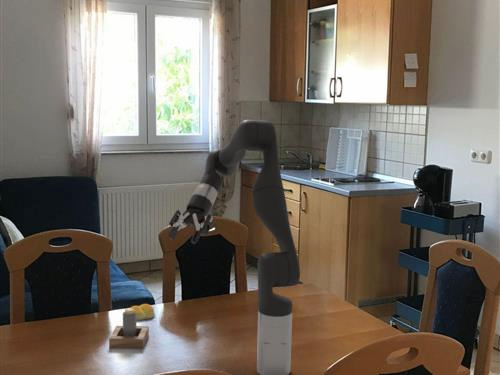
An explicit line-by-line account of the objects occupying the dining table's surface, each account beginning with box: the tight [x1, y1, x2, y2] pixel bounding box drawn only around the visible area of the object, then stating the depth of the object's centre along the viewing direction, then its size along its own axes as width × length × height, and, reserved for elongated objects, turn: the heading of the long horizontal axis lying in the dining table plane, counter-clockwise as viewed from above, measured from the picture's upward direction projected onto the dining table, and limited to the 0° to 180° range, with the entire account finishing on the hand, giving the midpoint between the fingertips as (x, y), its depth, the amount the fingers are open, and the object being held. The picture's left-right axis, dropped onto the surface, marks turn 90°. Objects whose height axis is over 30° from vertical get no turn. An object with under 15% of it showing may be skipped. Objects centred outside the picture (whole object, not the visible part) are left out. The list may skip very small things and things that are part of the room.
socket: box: [108, 325, 150, 350], centre depth 180 cm, size 10×10×3 cm
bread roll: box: [130, 303, 156, 321], centre depth 201 cm, size 8×9×4 cm
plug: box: [122, 307, 137, 337], centre depth 179 cm, size 4×4×10 cm
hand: (181, 240), depth 188 cm, fingers open, 8 cm apart
